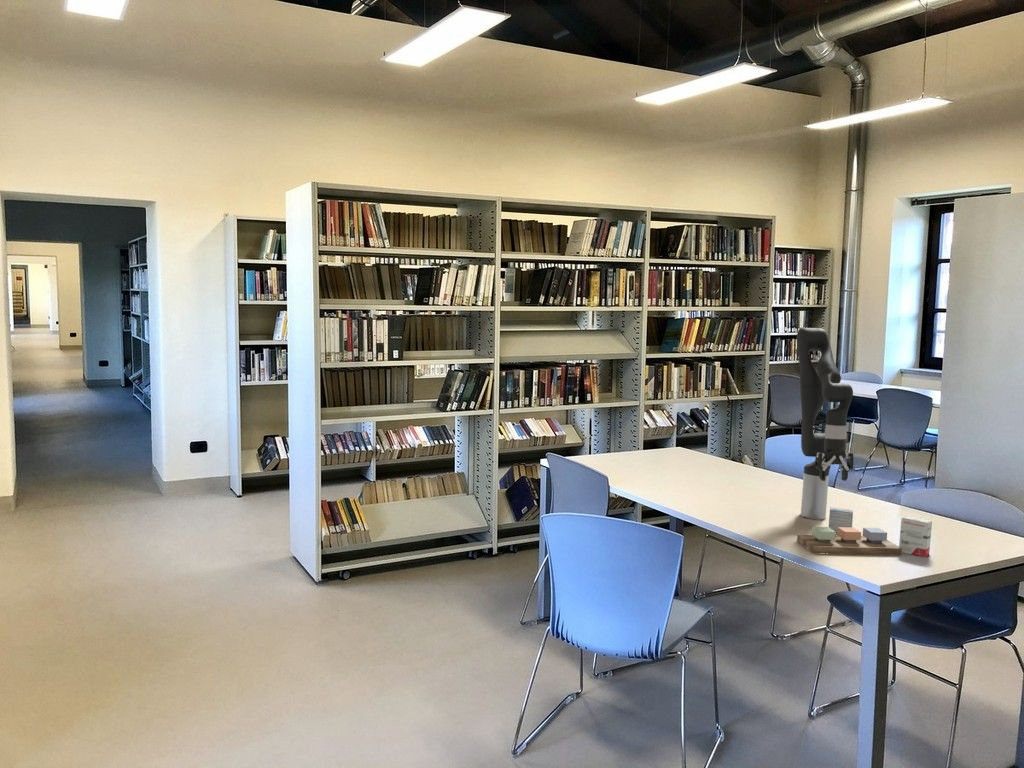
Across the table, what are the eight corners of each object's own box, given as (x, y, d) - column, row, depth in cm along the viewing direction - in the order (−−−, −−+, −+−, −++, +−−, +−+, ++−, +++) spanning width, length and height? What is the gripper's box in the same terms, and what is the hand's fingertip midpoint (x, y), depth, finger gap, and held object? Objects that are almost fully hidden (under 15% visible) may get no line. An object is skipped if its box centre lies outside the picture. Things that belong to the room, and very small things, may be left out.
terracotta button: (837, 535, 273) (837, 527, 273) (852, 535, 274) (853, 527, 273) (844, 539, 268) (845, 531, 267) (860, 540, 268) (861, 532, 268)
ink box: (929, 554, 267) (932, 520, 266) (925, 557, 263) (928, 523, 262) (902, 548, 273) (905, 515, 272) (898, 551, 269) (901, 517, 268)
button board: (796, 541, 277) (797, 529, 277) (880, 542, 279) (881, 531, 278) (813, 553, 263) (814, 541, 263) (901, 555, 265) (902, 543, 264)
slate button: (862, 535, 274) (863, 527, 273) (878, 535, 274) (878, 527, 274) (870, 540, 268) (871, 532, 268) (886, 540, 268) (887, 532, 268)
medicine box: (851, 532, 291) (853, 509, 290) (851, 535, 287) (853, 512, 286) (828, 529, 294) (830, 506, 293) (828, 532, 290) (829, 509, 289)
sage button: (811, 534, 273) (812, 526, 273) (827, 534, 273) (828, 526, 273) (818, 539, 267) (819, 531, 267) (834, 539, 268) (835, 531, 267)
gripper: (847, 435, 297) (845, 478, 298) (812, 435, 295) (810, 478, 296) (859, 438, 290) (856, 482, 291) (823, 438, 287) (821, 482, 288)
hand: (833, 480), depth 293 cm, fingers open, 8 cm apart
